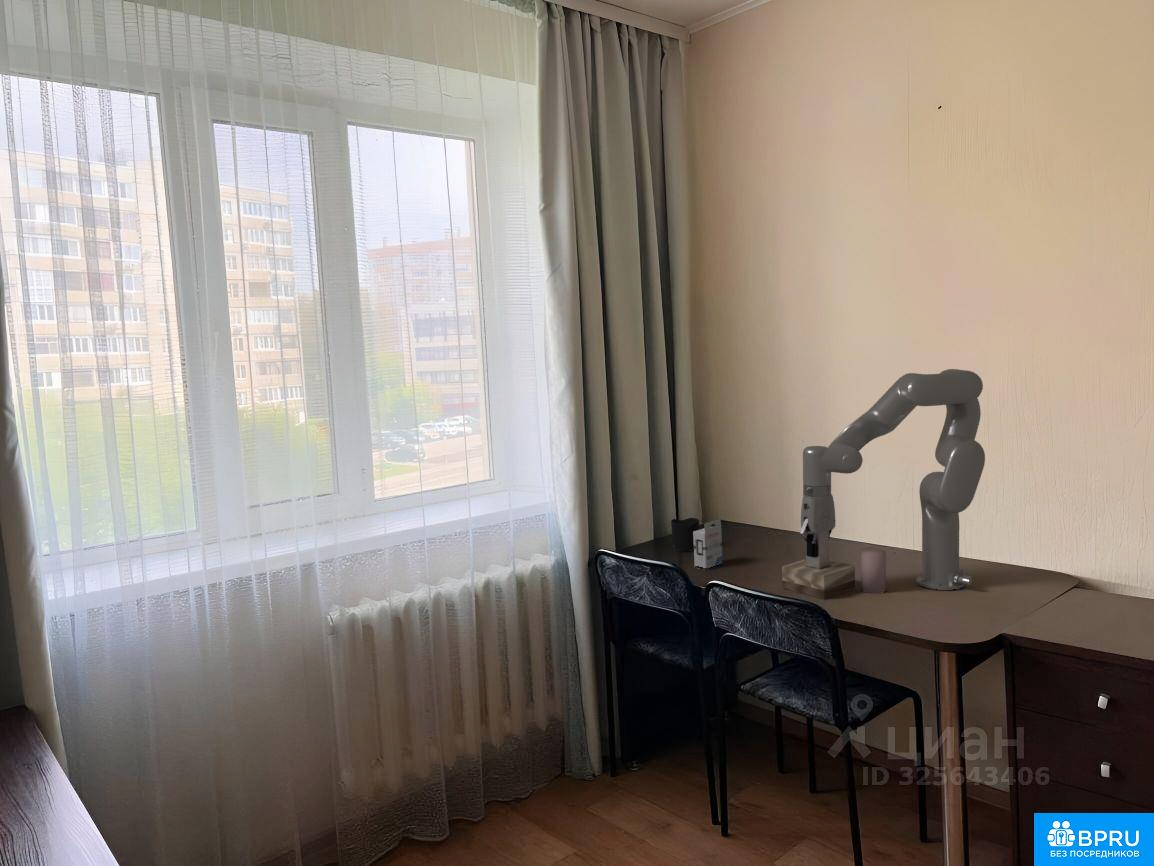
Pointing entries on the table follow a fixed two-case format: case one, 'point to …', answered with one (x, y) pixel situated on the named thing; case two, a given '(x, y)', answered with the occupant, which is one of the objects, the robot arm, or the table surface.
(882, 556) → the round peg
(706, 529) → the ink box
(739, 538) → the table surface
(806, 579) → the bore block
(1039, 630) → the table surface
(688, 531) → the pen holder
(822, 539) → the square peg
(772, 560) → the table surface
